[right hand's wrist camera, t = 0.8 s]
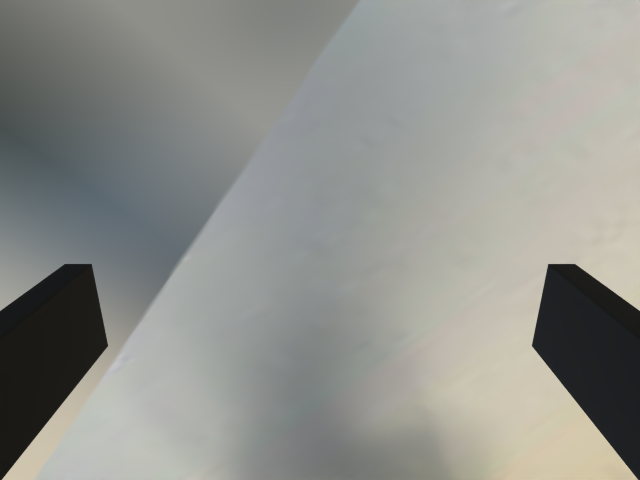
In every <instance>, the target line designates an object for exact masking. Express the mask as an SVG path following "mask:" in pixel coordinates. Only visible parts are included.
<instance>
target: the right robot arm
mask: <svg viewBox="0 0 640 480" xmlns="http://www.w3.org/2000/svg"><path fill="white" fill-rule="evenodd" d="M107 347H108V343H107V338H106V333H105V328H104V323H103V318H102V313H101V309H100V303H99V298H98V293H97V289H96V284H95V278H94V274H93V269H92V264H64V265H63V266H62V267H60V268H59V269H58V270H56V271H55V272H53V273H52V274H51V275H49V276H48V277H47V278H45V279H44V280H42V281H41V282H40V283H38V284H37V285H36V286H34V287H33V288H31V289H30V290H29V291H27V292H26V293H24V294H23V295H22V296H20V297H19V298H18V299H16V300H15V301H13V302H12V303H11V304H9V305H8V306H7V307H5V308H4V309H2V310H1V311H0V480H2V479H3V477H4V476H5V475H6V474H7V472H8V471H9V470H10V469H11V467H12V466H13V465H14V463H15V462H16V461H17V460H18V459H19V457H20V456H21V455H22V453H23V452H24V451H25V450H26V448H27V447H28V446H29V445H30V443H31V442H32V441H33V440H34V438H35V437H36V436H37V435H38V433H39V432H40V431H41V430H42V428H43V427H44V426H45V425H46V423H47V422H48V421H49V419H50V418H51V417H52V416H53V414H54V413H55V412H56V411H57V409H58V408H59V407H60V406H61V404H62V403H63V402H64V401H65V399H66V398H67V397H68V396H69V394H70V393H71V392H72V391H73V389H74V388H75V387H76V386H77V384H78V383H79V382H80V380H81V379H82V378H83V377H84V375H85V374H86V373H87V372H88V370H89V369H90V368H91V367H92V365H93V364H94V363H95V362H96V360H97V359H98V358H99V356H100V355H101V354H102V353H103V352H104V350H105V349H106V348H107ZM532 347H533V348H534V349H535V350H536V352H537V353H538V354H539V355H540V357H541V358H542V359H543V360H544V362H545V363H546V364H547V365H548V367H549V368H550V369H551V370H552V372H553V373H554V374H555V375H556V377H557V378H558V379H559V380H560V382H561V383H562V384H563V386H564V387H565V388H566V389H567V391H568V392H569V393H570V394H571V396H572V397H573V398H574V399H575V401H576V402H577V403H578V404H579V406H580V407H581V408H582V409H583V411H584V412H585V413H586V414H587V416H588V417H589V418H590V420H591V421H592V422H593V423H594V425H595V426H596V427H597V428H598V430H599V431H600V432H601V433H602V435H603V436H604V437H605V438H606V440H607V441H608V442H609V443H610V445H611V446H612V447H613V448H614V450H615V451H616V452H617V453H618V455H619V456H620V457H621V459H622V460H623V461H624V462H625V464H626V465H627V466H628V467H629V469H630V470H631V471H632V472H633V474H634V475H635V476H636V477H637V479H638V480H640V311H639V310H638V309H636V308H635V307H633V306H632V305H631V304H629V303H628V302H627V301H625V300H624V299H622V298H621V297H620V296H618V295H617V294H616V293H614V292H613V291H611V290H610V289H609V288H607V287H606V286H604V285H603V284H602V283H600V282H599V281H598V280H596V279H595V278H593V277H592V276H591V275H589V274H588V273H587V272H585V271H584V270H582V269H581V268H580V267H578V266H577V265H576V264H548V269H547V273H546V278H545V283H544V288H543V293H542V298H541V303H540V308H539V313H538V318H537V323H536V328H535V333H534V338H533V343H532Z"/></svg>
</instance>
